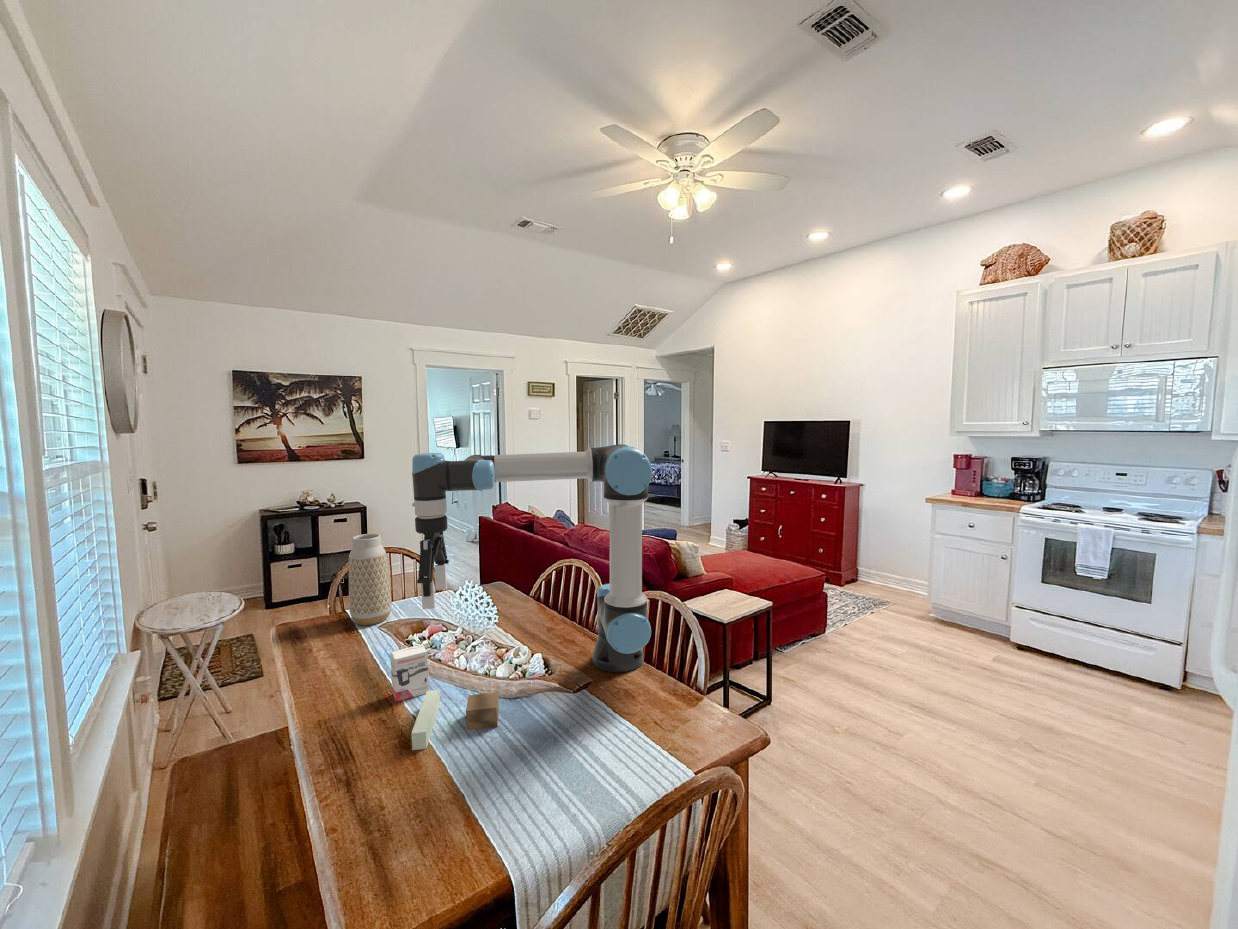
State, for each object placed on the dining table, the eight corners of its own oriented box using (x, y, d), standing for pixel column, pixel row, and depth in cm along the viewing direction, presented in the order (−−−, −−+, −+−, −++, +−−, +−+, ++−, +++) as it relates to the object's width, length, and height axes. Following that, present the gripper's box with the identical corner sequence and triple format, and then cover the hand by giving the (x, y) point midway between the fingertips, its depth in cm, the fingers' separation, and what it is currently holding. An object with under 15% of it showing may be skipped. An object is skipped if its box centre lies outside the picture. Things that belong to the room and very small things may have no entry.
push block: (498, 711, 133) (498, 692, 133) (497, 727, 126) (496, 707, 126) (469, 714, 132) (469, 695, 131) (466, 731, 125) (465, 710, 125)
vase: (385, 609, 201) (380, 530, 198) (397, 620, 191) (392, 536, 187) (346, 619, 192) (340, 536, 189) (356, 631, 182) (350, 543, 179)
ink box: (396, 703, 137) (393, 659, 136) (392, 694, 141) (389, 651, 140) (430, 692, 142) (427, 650, 141) (425, 685, 146) (423, 643, 145)
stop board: (440, 704, 136) (439, 689, 136) (426, 748, 118) (425, 731, 118) (427, 705, 136) (426, 690, 135) (412, 750, 118) (411, 733, 117)
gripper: (427, 506, 144) (431, 583, 146) (400, 527, 119) (405, 618, 122) (456, 505, 145) (459, 581, 147) (434, 525, 120) (439, 616, 123)
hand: (435, 598), depth 134 cm, fingers open, 13 cm apart
